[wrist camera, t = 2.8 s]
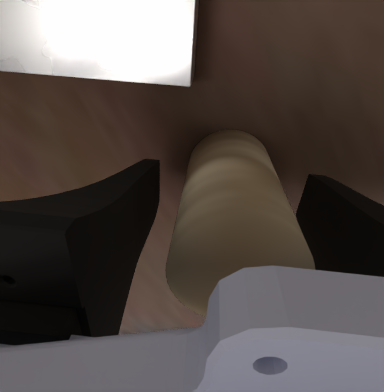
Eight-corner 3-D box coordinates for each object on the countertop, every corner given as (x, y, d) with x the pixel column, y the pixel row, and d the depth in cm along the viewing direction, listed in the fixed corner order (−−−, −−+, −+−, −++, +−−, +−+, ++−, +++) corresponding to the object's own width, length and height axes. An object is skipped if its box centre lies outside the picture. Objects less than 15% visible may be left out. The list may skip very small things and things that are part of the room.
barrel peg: (186, 199, 14) (164, 315, 8) (190, 125, 12) (166, 210, 6) (260, 206, 14) (292, 329, 8) (278, 133, 12) (337, 227, 6)
